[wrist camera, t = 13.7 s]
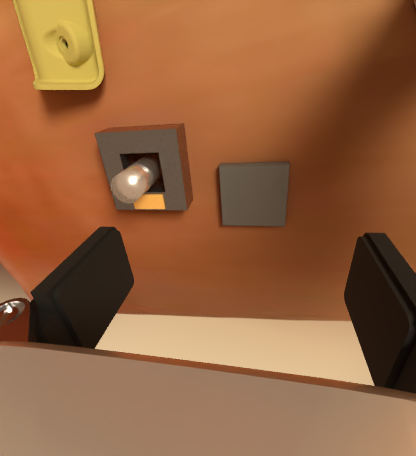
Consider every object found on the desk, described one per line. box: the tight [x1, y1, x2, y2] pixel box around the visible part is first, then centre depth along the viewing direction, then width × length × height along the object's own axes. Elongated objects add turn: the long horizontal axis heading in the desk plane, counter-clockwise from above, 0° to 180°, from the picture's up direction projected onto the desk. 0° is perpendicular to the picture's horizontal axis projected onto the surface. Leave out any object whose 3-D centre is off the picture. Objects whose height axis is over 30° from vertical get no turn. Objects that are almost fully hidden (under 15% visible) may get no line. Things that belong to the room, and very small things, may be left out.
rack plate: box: [95, 123, 193, 210], centre depth 40 cm, size 12×12×4 cm
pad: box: [219, 162, 290, 226], centre depth 40 cm, size 10×10×2 cm
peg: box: [111, 153, 162, 203], centre depth 37 cm, size 4×4×10 cm
